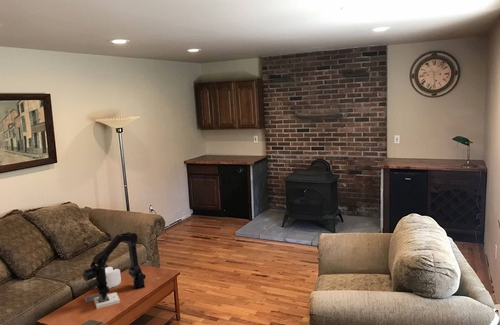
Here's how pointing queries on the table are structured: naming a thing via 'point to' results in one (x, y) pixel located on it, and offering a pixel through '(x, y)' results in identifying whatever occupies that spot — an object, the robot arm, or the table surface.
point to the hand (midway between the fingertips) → (103, 298)
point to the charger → (102, 298)
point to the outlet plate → (111, 300)
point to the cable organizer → (112, 277)
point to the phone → (91, 298)
